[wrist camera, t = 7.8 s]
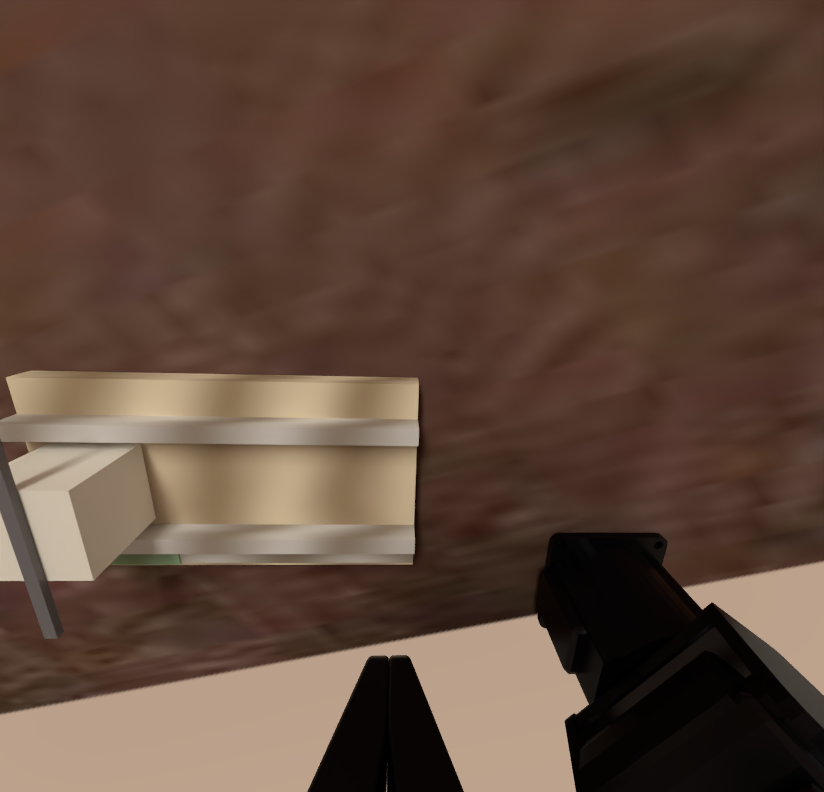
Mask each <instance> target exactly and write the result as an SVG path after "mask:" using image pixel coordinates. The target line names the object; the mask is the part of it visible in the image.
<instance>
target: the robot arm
mask: <svg viewBox="0 0 824 792" xmlns="http://www.w3.org/2000/svg"><path fill="white" fill-rule="evenodd" d="M561 541H563V542H562V543H561V544H558V543H559V542H561ZM656 542H657V543H656ZM655 543H656V544H655ZM666 548H667V540H666V539H665V538H664V537H663V536H662V535H660V534H659V533H557V534H555V535H553V536H552V537H551V540H550V544H549V550H548V557H547V563H546V568H544V570H543V571H542V575H541V581H540V587H539V593H538V599H537V607H538V609H539V611H538V620H539V623H540V625H541V626H542V627H543V628H547V630H548V633H549V635H550V637H551V640H552V642H553V645H554V647H555V649H556V652H557V654H558V656H559V659H560V661H561V664H562V666H563V668H564V670H565V671H566V672H567V673H569V674H576V676H577V678H578V681H579V683H580V685H581V687H582V690H583V692H584V694H585V696H586V699H587V701H588V703H589V705H588V706H586V707H585V708H584V709H583V710H581V711H580V712H579V713H578V714H573V715H571V716H570V717H569V718H567V719H566V720H565V726H566V732H567V738H568V744H569V751H570V757H571V763H572V769H573V775H574V781H575V787H576V792H824V695H822V694H821V693H820V692H819V691H818V690H817V689H816V688H815V687H814V686H813V685H812V684H811V683H810V682H809V681H808V680H807V679H806V678H805V677H804V676H802V675H801V674H800V673H799V672H798V671H797V670H796V669H795V668H794V667H793V666H792V665H791V664H790V663H789V662H788V661H787V660H786V659H785V658H784V657H782V656H781V655H780V654H779V653H778V652H777V651H776V650H775V649H774V648H772V647H771V646H769V645H768V644H767V643H766V642H764V641H763V640H761V639H760V638H759V637H757V636H756V635H755V634H754V633H752V632H751V631H750V630H748V629H747V628H746V627H744V626H743V625H742V624H740V623H739V622H738V621H736V620H735V619H734V618H732V617H731V616H730V615H728V614H727V613H726V612H724V611H723V610H721V609H720V608H719V607H718V606H716V605H715V604H714V603H711V604H709V605H708V606H707V607H706V608H704V609H703V610H702V609H701V608H700V607H699V606H698V605H697V604H696V602H695V601H694V600H693V599H692V598H691V597H690V596H689V595H688V594H687V593H686V591H685V590H684V589H683V588H682V587H681V586H680V585H679V584H678V583H677V582H676V580H675V579H674V578H673V577H672V576H671V575H670V574H669V573H668V572H667V570H666V569H665V568H664V567H663V566H662V562H663V559H664V555H665V552H666ZM386 785H387V792H464V791H463V789H462V786H461V784H460V781H459V779H458V776H457V774H456V771H455V769H454V766H453V764H452V761H451V759H450V756H449V754H448V751H447V749H446V746H445V744H444V741H443V739H442V736H441V734H440V731H439V729H438V727H437V724H436V721H435V719H434V716H433V714H432V711H431V709H430V706H429V704H428V701H427V699H426V696H425V694H424V691H423V689H422V686H421V684H420V682H419V679H418V677H417V674H416V672H415V669H414V667H413V664H412V662H411V659H410V658H409V657H408V656H406V655H402V656H401V655H399V656H398V655H397V656H391V657H390V658H388V657H387V656H371V657H369V658H368V660H367V661H366V664H365V666H364V668H363V670H362V672H361V675H360V677H359V679H358V682H357V684H356V686H355V688H354V690H353V692H352V695H351V697H350V699H349V701H348V703H347V706H346V708H345V710H344V712H343V714H342V717H341V719H340V721H339V723H338V725H337V728H336V730H335V732H334V734H333V737H332V739H331V741H330V743H329V745H328V747H327V750H326V752H325V754H324V757H323V759H322V761H321V763H320V765H319V767H318V770H317V772H316V774H315V776H314V778H313V781H312V783H311V785H310V787H309V789H308V792H386Z"/></svg>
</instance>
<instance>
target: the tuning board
mask: <svg viewBox="0 0 824 792" xmlns="http://www.w3.org/2000/svg"><path fill="white" fill-rule="evenodd" d="M6 380H7V383H8V386H9V390H10V393H11V396H12V399H13V403H14V406H15V409H16V412H17V414H16V415H13V416H10V417H7V418H5V419H2V420H0V439H1V442H26V445H27V448H28V451H29V453H30V452H32V451H34V450H36V449H38V448H40V447H42V446H44V445H46V444H48V443H123V444H141V448H142V453H143V458H144V463H145V468H146V473H147V477H148V482H149V487H150V492H151V497H152V502H153V506H154V511H155V516H156V519H155V520H154V521H153V522H152V523H151V524H150V525H149V526H148V527H147V528H146V529H145V530H144V531H143V532H142V533H141V534H140V535H139V536H138V537H137V538H136V539H135V540H134V541H133V542H132V543H131V544H130V545H129V546H128V547H127V548H126V549H125V550H124V551H123V552H122V553H121V554H120V555H119V556H118V557H117V558H116V559H115V560H114V561H113V562H112V563H111V564H110V565H408V564H413V554H415V531H414V513H415V485H416V456H417V446H419V425H418V399H419V382H418V378H403V377H349V376H295V375H240V374H186V373H131V372H77V371H28V372H24V373H20V374H16V375H13V376H9V377H6Z"/></svg>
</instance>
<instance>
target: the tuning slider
mask: <svg viewBox="0 0 824 792" xmlns="http://www.w3.org/2000/svg"><path fill="white" fill-rule="evenodd" d="M155 519H156V516H155V511H154V506H153V502H152V497H151V492H150V487H149V482H148V477H147V473H146V468H145V463H144V458H143V453H142V448H141V444H123V443H48V444H46V445H44V446H42V447H40V448H38V449H36V450H34V451H32V452H30V453H28V454H26V455H24V456H21V457H19V458H17V459H15V460H13V461H11V462H9V463H8V460H7V457H6V454H5V451H4V448H3V445H2V442H1V439H0V581H25V584H26V587H27V590H28V593H29V595H30V598H31V601H32V604H33V607H34V610H35V613H36V615H37V618H38V621H39V624H40V627H41V630H42V632H43V635H44V638H45V639H55V638H58V637H59V636H60V635H61V634H62V633H63V632H64V631H63V628H62V625H61V622H60V619H59V616H58V613H57V609H56V606H55V603H54V600H53V597H52V594H51V591H50V588H49V585H48V582H47V581H94V580H95V579H96V578H97V577H98V576H99V575H100V574H101V573H102V572H103V571H104V570H105V569H106V568H107V567H108V566H109V565H110V564H111V563H112V562H113V561H114V560H115V559H116V558H117V557H118V556H119V555H120V554H121V553H122V552H123V551H124V550H125V549H126V548H127V547H128V546H129V545H130V544H131V543H132V542H133V541H134V540H135V539H136V538H137V537H138V536H139V535H140V534H141V533H142V532H143V531H144V530H145V529H146V528H147V527H148V526H149V525H150V524H151V523H152V522H153V521H154V520H155Z"/></svg>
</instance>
